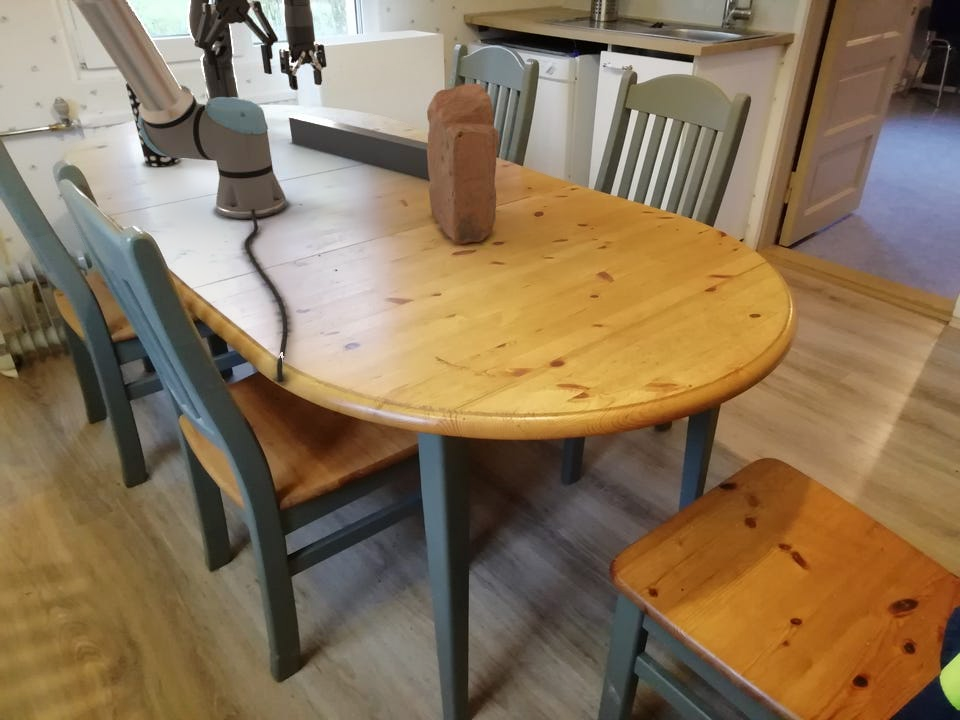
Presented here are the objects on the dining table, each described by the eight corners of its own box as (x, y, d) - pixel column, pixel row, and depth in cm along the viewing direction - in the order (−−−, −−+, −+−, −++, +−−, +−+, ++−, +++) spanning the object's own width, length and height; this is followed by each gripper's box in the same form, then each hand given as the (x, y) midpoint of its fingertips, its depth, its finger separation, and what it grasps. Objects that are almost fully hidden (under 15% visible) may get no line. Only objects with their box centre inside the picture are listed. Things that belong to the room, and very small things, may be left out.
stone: (507, 241, 142) (509, 97, 128) (455, 247, 139) (451, 101, 125) (475, 209, 160) (474, 80, 146) (428, 214, 157) (422, 83, 143)
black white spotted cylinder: (184, 157, 190) (167, 80, 179) (169, 166, 183) (151, 87, 172) (155, 156, 190) (136, 79, 179) (139, 165, 183) (119, 86, 172)
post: (487, 186, 172) (488, 156, 168) (475, 192, 169) (476, 161, 165) (305, 139, 207) (302, 113, 203) (292, 143, 203) (288, 117, 199)
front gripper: (269, -24, 169) (281, 69, 180) (167, -21, 155) (187, 79, 166) (284, -22, 165) (295, 73, 176) (180, -19, 150) (199, 84, 162)
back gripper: (310, 19, 191) (316, 81, 200) (268, 24, 181) (277, 89, 190) (328, 22, 187) (334, 85, 196) (287, 27, 178) (295, 93, 186)
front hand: (242, 76), depth 171 cm, fingers open, 13 cm apart
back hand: (306, 87), depth 193 cm, fingers open, 8 cm apart
